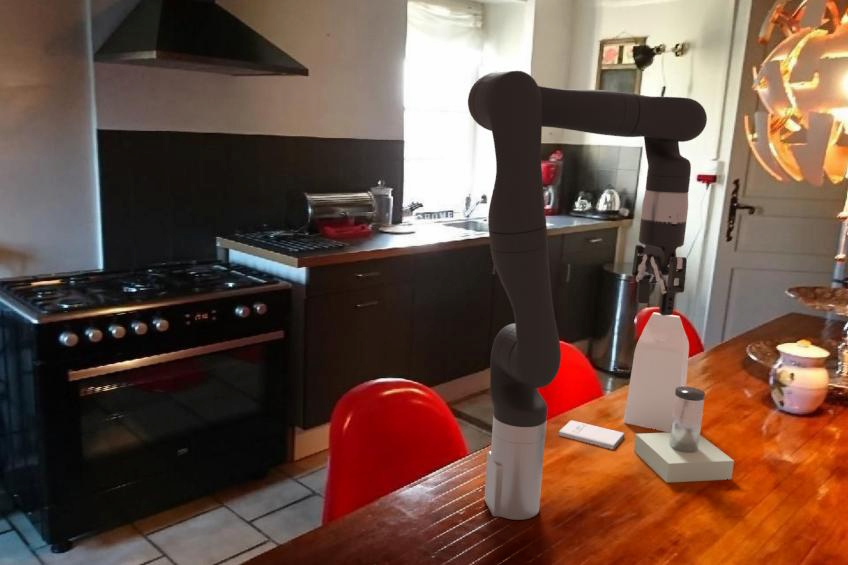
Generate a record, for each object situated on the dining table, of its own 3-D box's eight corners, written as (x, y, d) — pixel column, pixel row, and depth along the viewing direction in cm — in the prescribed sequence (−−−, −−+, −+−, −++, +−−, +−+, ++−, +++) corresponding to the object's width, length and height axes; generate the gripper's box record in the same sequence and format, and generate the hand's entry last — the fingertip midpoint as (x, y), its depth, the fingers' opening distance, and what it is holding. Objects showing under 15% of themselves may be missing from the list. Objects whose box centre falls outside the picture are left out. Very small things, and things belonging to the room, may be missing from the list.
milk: (683, 417, 173) (696, 313, 167) (676, 434, 163) (689, 324, 157) (633, 407, 178) (644, 306, 173) (623, 422, 168) (634, 315, 163)
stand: (666, 482, 139) (668, 463, 138) (633, 451, 153) (635, 433, 152) (731, 479, 142) (734, 460, 141) (693, 448, 155) (695, 431, 154)
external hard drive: (613, 452, 153) (558, 437, 159) (624, 439, 160) (571, 425, 166) (613, 444, 153) (559, 430, 159) (624, 432, 159) (571, 418, 166)
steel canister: (677, 452, 143) (684, 396, 141) (664, 441, 148) (670, 386, 146) (703, 452, 144) (710, 395, 142) (689, 440, 149) (695, 386, 147)
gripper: (625, 212, 129) (616, 299, 132) (664, 222, 115) (653, 319, 119) (663, 213, 130) (653, 299, 134) (706, 223, 117) (694, 319, 120)
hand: (653, 308), depth 126 cm, fingers open, 8 cm apart
